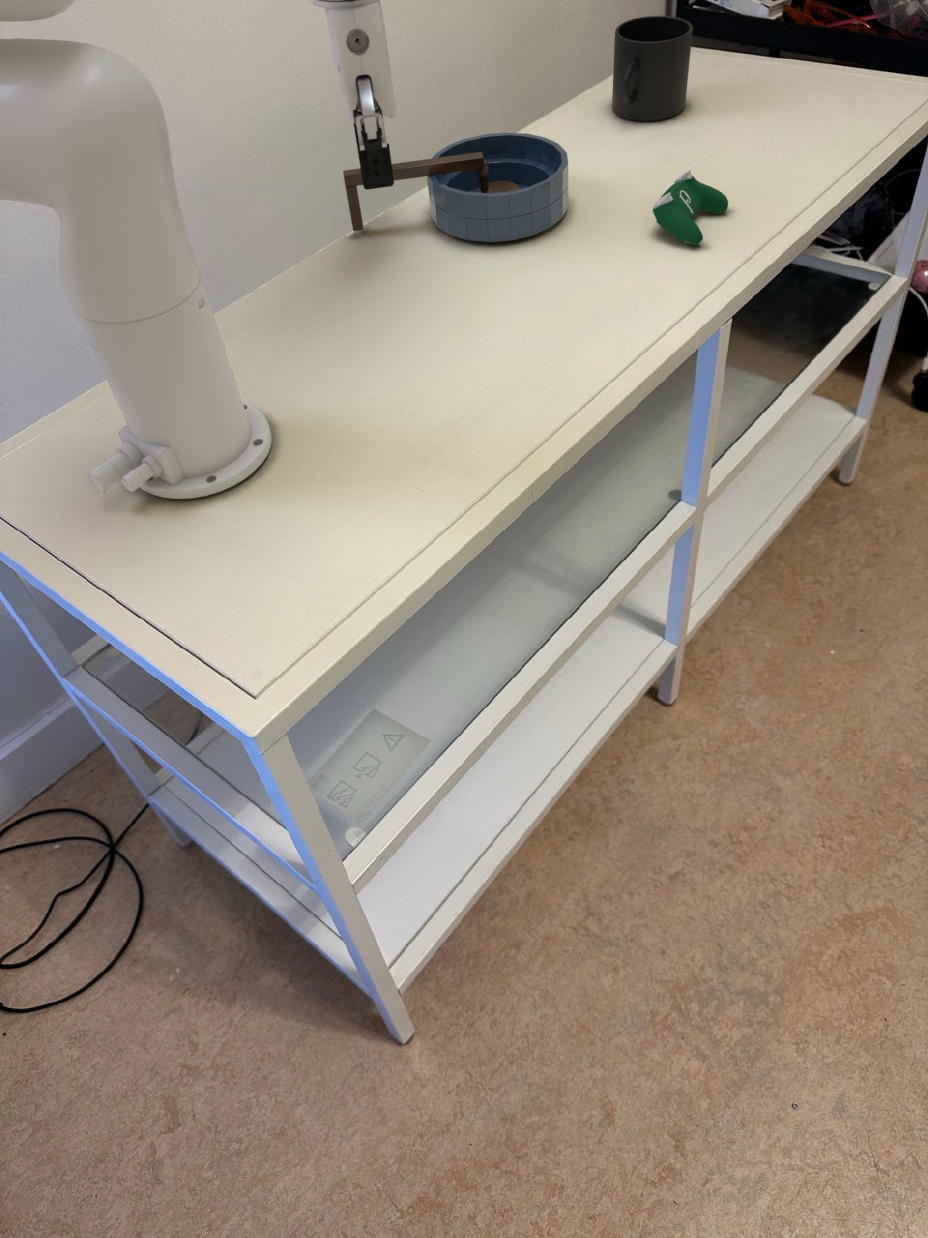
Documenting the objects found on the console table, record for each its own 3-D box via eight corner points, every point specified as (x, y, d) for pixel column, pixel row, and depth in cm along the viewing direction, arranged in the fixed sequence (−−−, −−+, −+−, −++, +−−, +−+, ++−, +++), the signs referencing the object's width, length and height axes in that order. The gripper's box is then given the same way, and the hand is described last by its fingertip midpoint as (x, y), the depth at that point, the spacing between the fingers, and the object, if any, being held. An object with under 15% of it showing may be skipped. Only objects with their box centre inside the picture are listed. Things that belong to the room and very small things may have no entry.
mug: (589, 123, 116) (590, 44, 109) (632, 88, 122) (636, 11, 115) (656, 135, 112) (662, 54, 105) (697, 98, 118) (705, 19, 111)
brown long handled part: (516, 195, 104) (514, 139, 99) (524, 214, 101) (522, 158, 96) (351, 218, 103) (342, 163, 98) (354, 238, 100) (344, 182, 95)
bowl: (516, 259, 96) (514, 207, 91) (405, 226, 102) (398, 177, 98) (593, 197, 103) (594, 147, 99) (484, 170, 110) (481, 123, 105)
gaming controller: (707, 222, 101) (674, 178, 99) (734, 202, 98) (700, 156, 96) (675, 262, 96) (640, 216, 94) (702, 242, 93) (666, 194, 91)
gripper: (396, -1, 78) (418, 197, 91) (380, -52, 89) (402, 131, 102) (310, 10, 78) (345, 207, 91) (305, -42, 89) (337, 140, 102)
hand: (375, 167), depth 97 cm, fingers open, 9 cm apart
